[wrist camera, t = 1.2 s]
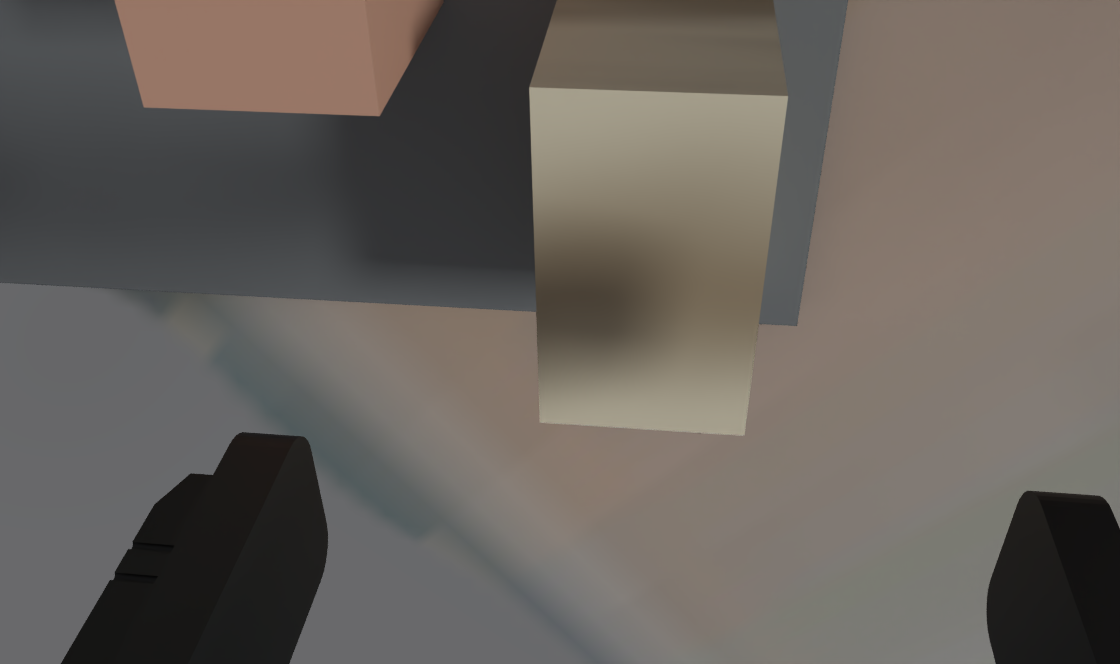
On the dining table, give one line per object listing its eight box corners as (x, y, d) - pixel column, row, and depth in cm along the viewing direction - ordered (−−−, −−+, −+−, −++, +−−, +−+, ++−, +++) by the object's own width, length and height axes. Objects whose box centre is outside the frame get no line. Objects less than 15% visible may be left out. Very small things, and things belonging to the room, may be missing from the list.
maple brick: (564, -25, 17) (529, 87, 14) (770, -20, 17) (788, 96, 14) (567, 273, 21) (539, 422, 17) (737, 282, 21) (744, 435, 17)
